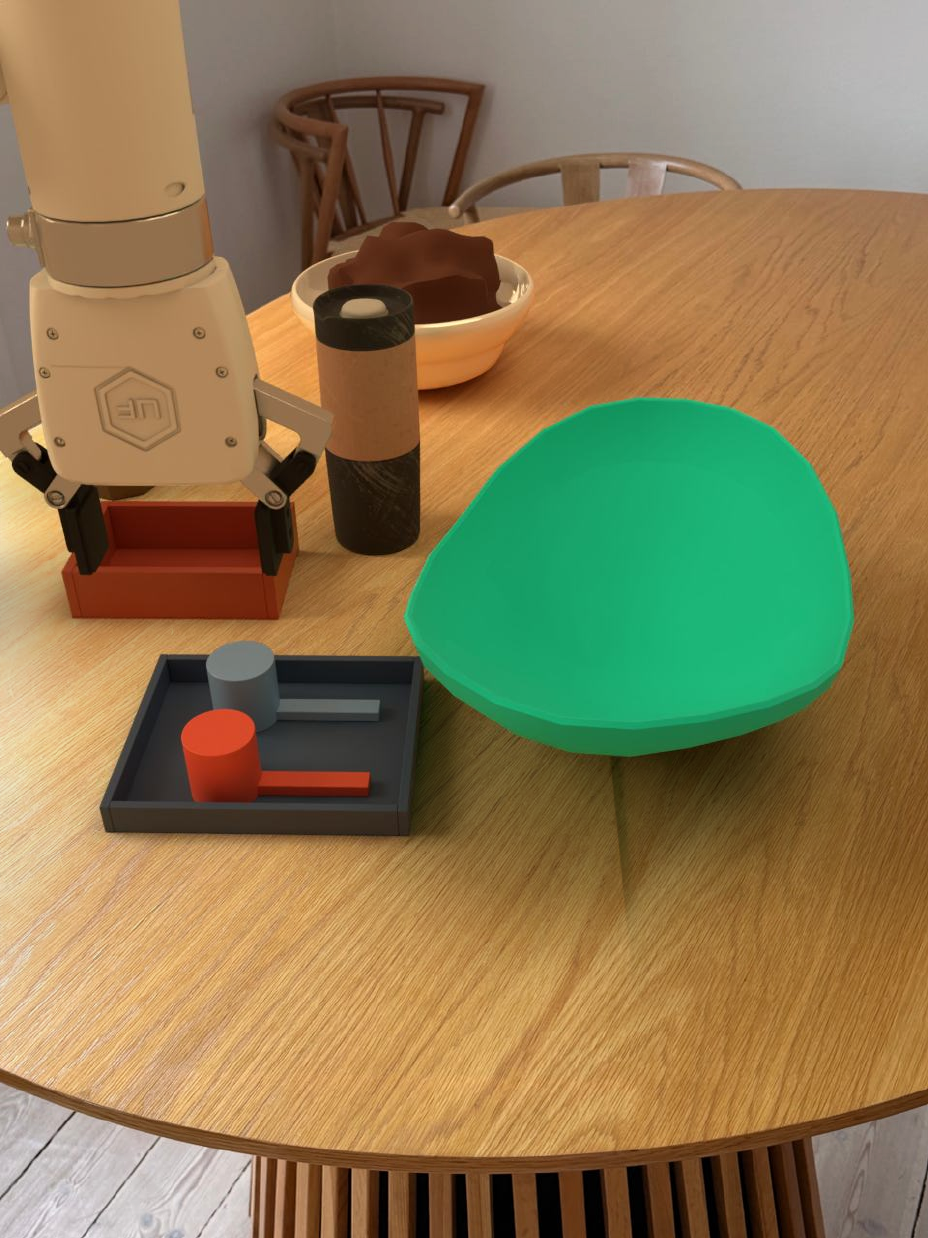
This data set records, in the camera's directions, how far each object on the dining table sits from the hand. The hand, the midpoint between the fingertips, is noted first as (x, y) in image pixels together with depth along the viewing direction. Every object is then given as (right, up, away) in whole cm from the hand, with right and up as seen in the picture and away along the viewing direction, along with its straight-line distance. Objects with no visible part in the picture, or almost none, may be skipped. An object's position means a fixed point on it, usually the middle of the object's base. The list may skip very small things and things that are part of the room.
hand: (184, 562), depth 65 cm
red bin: (-7, 0, +31) cm, 31 cm away
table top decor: (+26, -8, +19) cm, 33 cm away
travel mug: (+8, +4, +37) cm, 38 cm away
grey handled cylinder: (+4, -9, +17) cm, 19 cm away
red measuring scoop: (+4, -14, +11) cm, 18 cm away
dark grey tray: (+3, -12, +14) cm, 18 cm away
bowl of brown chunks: (+10, +23, +65) cm, 70 cm away
